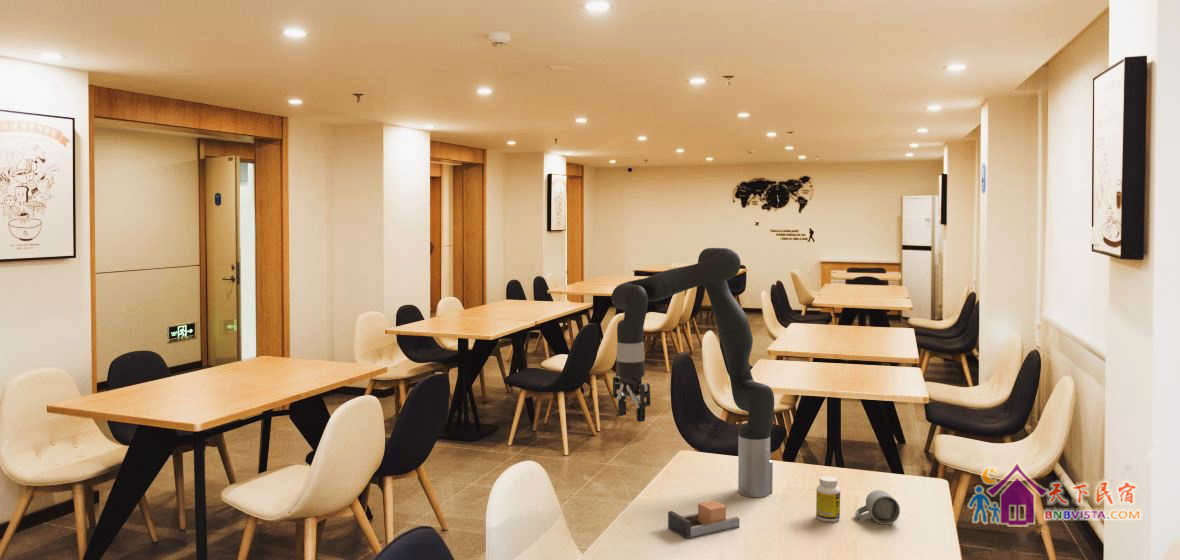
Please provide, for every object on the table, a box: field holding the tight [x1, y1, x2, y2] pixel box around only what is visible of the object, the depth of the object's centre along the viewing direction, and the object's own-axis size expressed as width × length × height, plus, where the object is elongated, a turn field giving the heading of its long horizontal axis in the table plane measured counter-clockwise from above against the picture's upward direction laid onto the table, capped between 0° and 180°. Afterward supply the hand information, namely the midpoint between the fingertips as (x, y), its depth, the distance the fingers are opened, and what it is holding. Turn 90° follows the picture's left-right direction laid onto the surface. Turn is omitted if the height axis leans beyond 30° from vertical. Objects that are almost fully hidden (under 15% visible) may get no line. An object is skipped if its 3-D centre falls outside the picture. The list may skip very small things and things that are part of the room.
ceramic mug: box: [854, 489, 901, 526], centre depth 214 cm, size 11×8×8 cm
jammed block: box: [697, 499, 727, 524], centre depth 210 cm, size 5×6×5 cm
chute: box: [667, 510, 740, 540], centre depth 209 cm, size 17×9×4 cm, turn 118°
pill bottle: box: [815, 475, 841, 523], centre depth 215 cm, size 6×6×11 cm
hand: (631, 418), depth 213 cm, fingers open, 8 cm apart
